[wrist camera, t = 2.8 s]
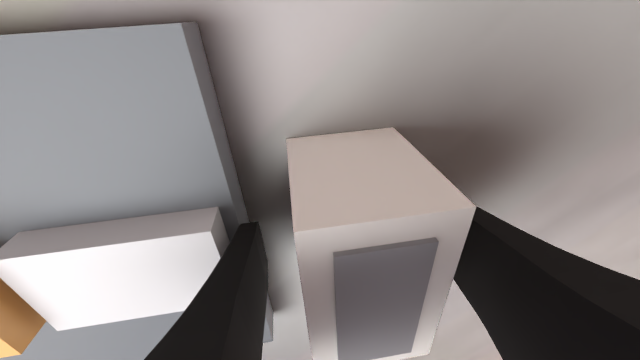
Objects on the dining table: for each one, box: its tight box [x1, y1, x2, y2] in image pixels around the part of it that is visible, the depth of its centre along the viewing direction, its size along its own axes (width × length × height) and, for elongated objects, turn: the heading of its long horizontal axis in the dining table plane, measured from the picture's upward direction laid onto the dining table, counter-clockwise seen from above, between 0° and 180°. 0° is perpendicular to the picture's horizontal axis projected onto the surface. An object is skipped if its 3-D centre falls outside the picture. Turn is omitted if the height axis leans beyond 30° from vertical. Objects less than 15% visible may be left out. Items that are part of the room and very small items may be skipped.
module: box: [286, 127, 476, 360], centre depth 9 cm, size 6×4×5 cm, turn 3°
